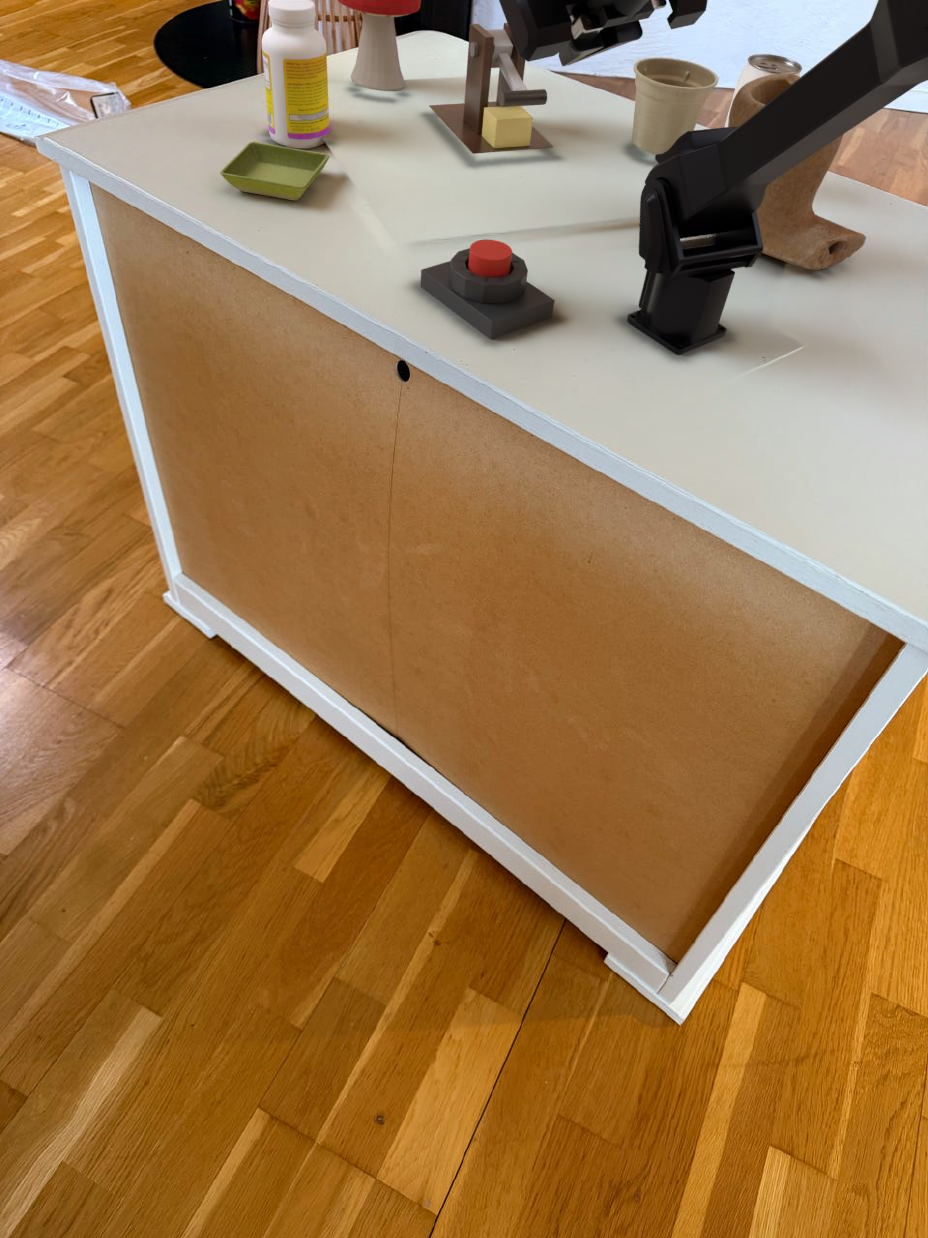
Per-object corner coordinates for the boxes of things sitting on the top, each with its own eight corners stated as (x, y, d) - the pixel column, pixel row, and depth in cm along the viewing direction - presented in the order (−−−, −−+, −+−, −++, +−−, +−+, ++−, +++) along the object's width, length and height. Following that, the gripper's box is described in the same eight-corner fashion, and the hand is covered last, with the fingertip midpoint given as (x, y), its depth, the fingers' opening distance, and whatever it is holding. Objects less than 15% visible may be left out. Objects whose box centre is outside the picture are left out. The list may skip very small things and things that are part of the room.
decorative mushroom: (428, 89, 112) (435, -57, 101) (400, 111, 106) (404, -41, 95) (356, 73, 114) (355, -73, 102) (325, 93, 108) (320, -58, 97)
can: (768, 198, 98) (808, 78, 89) (709, 188, 99) (744, 67, 90) (766, 175, 103) (804, 58, 94) (710, 166, 103) (743, 48, 94)
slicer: (553, 157, 101) (569, 49, 93) (471, 164, 98) (481, 53, 90) (504, 110, 109) (515, 7, 101) (428, 115, 106) (432, 10, 98)
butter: (529, 145, 100) (533, 117, 97) (493, 148, 98) (496, 119, 96) (516, 133, 102) (520, 104, 100) (481, 135, 100) (483, 106, 98)
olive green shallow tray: (252, 160, 94) (250, 139, 93) (331, 174, 93) (330, 153, 92) (220, 194, 88) (218, 172, 87) (305, 209, 88) (303, 187, 86)
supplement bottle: (341, 138, 100) (339, 3, 90) (304, 155, 96) (297, 17, 86) (295, 121, 102) (287, -12, 92) (256, 138, 98) (244, 0, 88)
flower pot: (713, 163, 104) (736, 80, 97) (654, 176, 100) (674, 91, 93) (659, 133, 109) (678, 52, 102) (601, 145, 105) (616, 62, 98)
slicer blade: (543, 111, 96) (549, 90, 94) (501, 114, 94) (506, 92, 92) (511, 50, 99) (516, 28, 97) (469, 51, 98) (474, 29, 96)
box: (551, 317, 78) (558, 280, 75) (490, 340, 75) (494, 301, 72) (480, 268, 83) (484, 231, 80) (420, 287, 80) (422, 249, 77)
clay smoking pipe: (671, 234, 91) (714, 70, 79) (735, 204, 97) (783, 47, 85) (800, 296, 84) (866, 126, 73) (859, 260, 90) (929, 98, 79)
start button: (518, 272, 76) (520, 253, 75) (485, 283, 75) (487, 263, 73) (491, 255, 78) (494, 235, 77) (459, 264, 76) (461, 245, 75)
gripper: (709, -185, 70) (613, -41, 85) (510, -159, 65) (443, -9, 79) (758, -46, 72) (654, 73, 86) (566, -7, 66) (490, 113, 80)
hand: (563, 60), depth 83 cm, fingers closed
